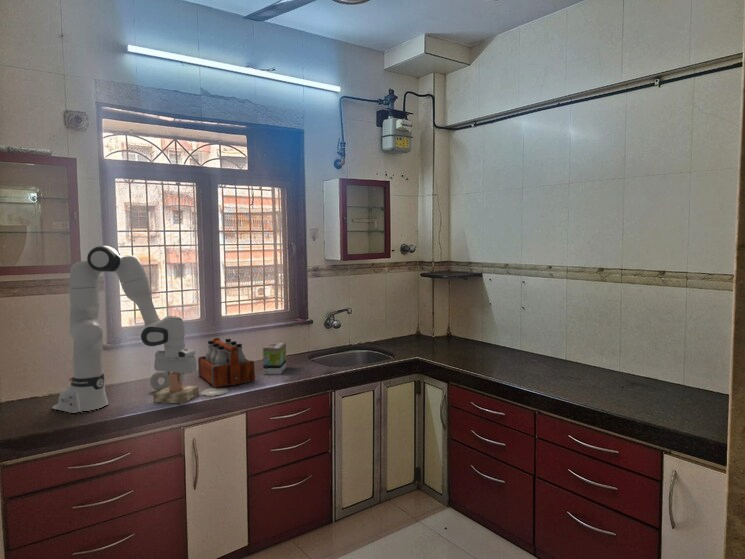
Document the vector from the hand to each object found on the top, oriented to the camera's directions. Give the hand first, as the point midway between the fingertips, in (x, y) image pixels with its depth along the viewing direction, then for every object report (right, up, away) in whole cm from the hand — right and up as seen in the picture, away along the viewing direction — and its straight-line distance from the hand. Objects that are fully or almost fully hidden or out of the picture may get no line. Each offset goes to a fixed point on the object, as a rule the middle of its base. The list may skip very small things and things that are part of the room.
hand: (175, 381), depth 230 cm
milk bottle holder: (+14, -5, +32) cm, 36 cm away
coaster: (+15, -7, +9) cm, 19 cm away
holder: (0, -8, +1) cm, 8 cm away
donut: (-12, -8, +13) cm, 19 cm away
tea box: (+36, -4, +48) cm, 60 cm away
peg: (0, -6, 0) cm, 6 cm away
